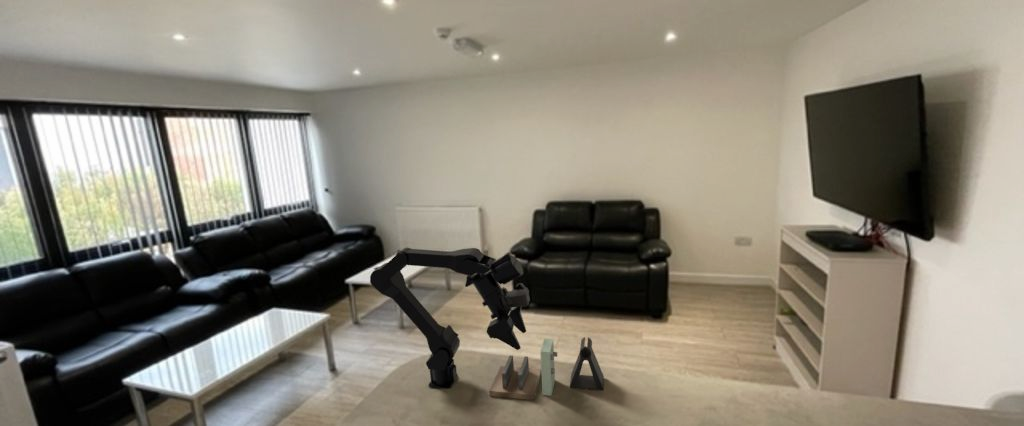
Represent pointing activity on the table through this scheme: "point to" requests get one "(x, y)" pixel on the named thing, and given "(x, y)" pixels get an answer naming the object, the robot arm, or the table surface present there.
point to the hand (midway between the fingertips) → (522, 340)
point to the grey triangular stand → (587, 354)
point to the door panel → (548, 366)
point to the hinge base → (516, 381)
